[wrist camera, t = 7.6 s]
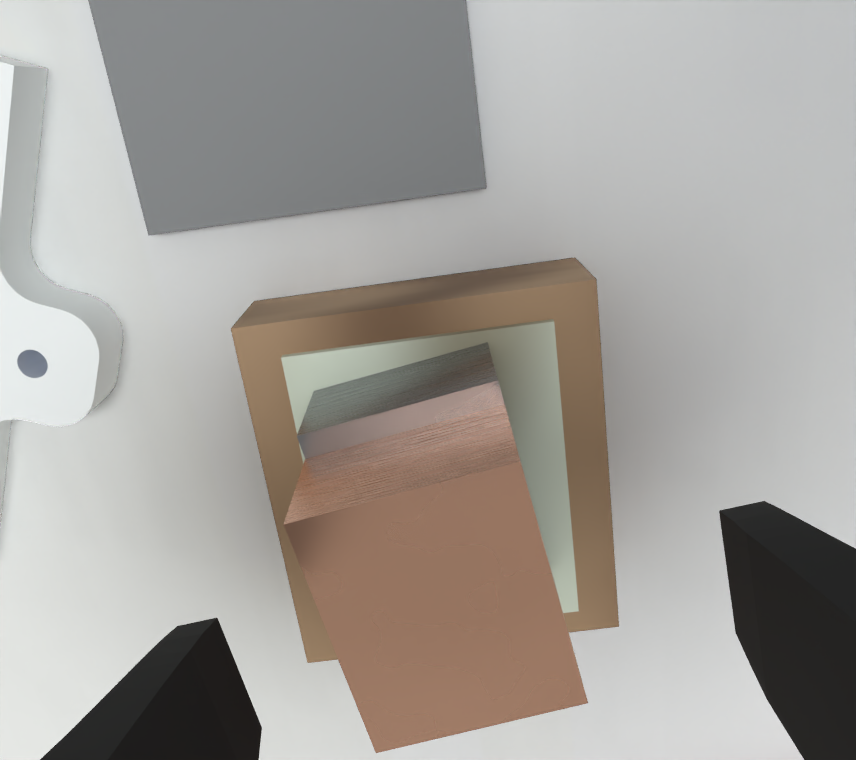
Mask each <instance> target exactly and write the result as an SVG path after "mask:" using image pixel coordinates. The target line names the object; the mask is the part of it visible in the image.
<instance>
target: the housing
mask: <svg viewBox="0 0 856 760" xmlns="http://www.w3.org/2000/svg"><path fill="white" fill-rule="evenodd" d="M297 439H298V441H299V444H300V446H301V449H302V452H303V454H304V457H305V461H304V464H303V467H302V470H301V473H300V476H299V479H298V482H297V485H296V488H295V491H294V494H293V497H292V500H291V503H290V506H289V509H288V512H287V515H286V518H285V521H284V524H283V525H284V527H285V530H286V532H287V534H288V537H289V539H290V542H291V544H292V547H293V549H294V552H295V554H296V557H297V559H298V562H299V564H300V567H301V569H302V571H303V574H304V576H305V579H306V581H307V584H308V586H309V589H310V591H311V594H312V596H313V599H314V601H315V604H316V606H317V608H318V611H319V613H320V616H321V618H322V621H323V623H324V626H325V628H326V631H327V633H328V636H329V638H330V641H331V643H332V645H333V648H334V650H335V653H336V655H337V658H338V660H339V663H340V665H341V668H342V670H343V673H344V675H345V678H346V680H347V683H348V685H349V687H350V690H351V692H352V695H353V697H354V700H355V702H356V705H357V707H358V710H359V712H360V715H361V717H362V720H363V722H364V724H365V727H366V729H367V732H368V734H369V737H370V739H371V742H372V744H373V747H374V749H375V752H376V753H378V752H382V751H387V750H391V749H395V748H399V747H404V746H408V745H412V744H416V743H421V742H425V741H429V740H433V739H438V738H442V737H446V736H450V735H454V734H459V733H463V732H467V731H471V730H476V729H480V728H484V727H488V726H493V725H497V724H501V723H505V722H510V721H514V720H518V719H522V718H527V717H531V716H535V715H539V714H544V713H548V712H552V711H556V710H560V709H565V708H569V707H573V706H577V705H582V704H586V703H588V701H587V698H586V694H585V691H584V687H583V683H582V680H581V676H580V672H579V669H578V665H577V662H576V658H575V654H574V651H573V647H572V643H571V640H570V636H569V632H568V629H567V625H566V621H565V618H564V614H563V610H562V607H561V603H560V600H559V596H558V592H557V589H556V585H555V581H554V578H553V574H552V571H551V567H550V563H549V560H548V556H547V553H546V549H545V545H544V542H543V538H542V535H541V531H540V528H539V524H538V520H537V517H536V513H535V510H534V506H533V503H532V499H531V495H530V492H529V488H528V485H527V481H526V478H525V474H524V470H523V467H522V463H521V460H520V456H519V452H518V449H517V445H516V442H515V438H514V435H513V431H512V427H511V424H510V420H509V417H508V413H507V410H506V406H505V402H504V399H503V395H502V392H501V388H500V385H499V381H498V377H497V374H496V370H495V367H494V363H493V359H492V356H491V352H490V349H489V345H488V342H486V343H482V344H479V345H475V346H472V347H468V348H464V349H461V350H457V351H454V352H450V353H447V354H443V355H440V356H436V357H433V358H429V359H425V360H422V361H418V362H415V363H411V364H408V365H404V366H401V367H397V368H393V369H390V370H386V371H383V372H379V373H376V374H372V375H369V376H365V377H361V378H358V379H354V380H351V381H347V382H344V383H340V384H337V385H333V386H329V387H326V388H322V389H319V390H315V391H314V392H313V394H312V397H311V400H310V402H309V405H308V407H307V410H306V413H305V415H304V418H303V421H302V423H301V426H300V429H299V431H298V434H297Z"/></svg>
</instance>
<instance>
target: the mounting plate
mask: <svg viewBox="0 0 856 760" xmlns="http://www.w3.org/2000/svg"><path fill="white" fill-rule="evenodd" d="M47 75H48V69H47V68H44V67H40V66H37V65H33V64H30V63H26V62H23V61H19V60H15V59H12V58H8V57H5V56H1V55H0V526H1V517H2V507H3V497H4V488H5V478H6V469H7V459H8V449H9V440H10V430H11V422H12V419H17V420H25V421H29V422H34V423H38V424H42V425H46V426H53V427H63V426H69V425H72V424H74V423H77V422H79V421H80V420H81V419H82V418H84V417H85V416H86V415H87V414H88V413H89V412H90V411H92V410H93V409H94V408H95V407H96V406H97V405H98V404H99V403H100V402H101V401H102V400H103V399H104V398H106V397H107V396H108V395H109V394H110V393H111V391H112V390H113V388H114V387H115V384H116V381H117V378H118V371H119V365H120V358H121V351H122V345H123V330H122V326H121V322H120V320H119V318H118V317H117V315H116V313H115V312H114V311H113V310H112V308H111V307H110V306H109V305H108V304H106V303H105V302H104V301H102V300H101V299H99V298H97V297H94V296H92V295H89V294H86V293H82V292H78V291H74V290H70V289H67V288H64V287H61V286H59V285H57V284H55V283H54V282H52V281H51V280H49V279H48V278H47V277H46V276H45V275H44V274H43V273H42V272H41V271H40V270H39V268H38V266H37V265H36V263H35V261H34V259H33V255H32V252H31V241H30V238H31V229H32V219H33V210H34V200H35V190H36V181H37V171H38V162H39V152H40V142H41V133H42V123H43V114H44V104H45V95H46V85H47Z"/></svg>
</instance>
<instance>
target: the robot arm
mask: <svg viewBox="0 0 856 760" xmlns="http://www.w3.org/2000/svg"><path fill="white" fill-rule="evenodd" d="M719 513H720V521H721V528H722V535H723V543H724V550H725V557H726V565H727V572H728V579H729V587H730V594H731V602H732V609H733V616H734V624H735V631H736V634H737V636H738V639H739V641H740V643H741V645H742V647H743V650H744V652H745V654H746V656H747V658H748V660H749V663H750V665H751V667H752V669H753V671H754V673H755V675H756V677H757V680H758V682H759V684H760V686H761V688H762V690H763V692H764V694H765V696H766V698H767V700H768V702H769V703H770V705H771V707H772V708H773V710H774V712H775V713H776V715H777V716H778V718H779V720H780V721H781V723H782V724H783V726H784V728H785V729H786V731H787V733H788V734H789V736H790V737H791V739H792V741H793V742H794V744H795V745H796V747H797V749H798V750H799V752H800V753H801V755H802V757H803V758H804V760H856V549H855V548H853V547H851V546H849V545H847V544H846V543H844V542H842V541H840V540H838V539H836V538H834V537H832V536H830V535H828V534H827V533H825V532H823V531H821V530H819V529H817V528H815V527H813V526H811V525H810V524H808V523H806V522H804V521H802V520H800V519H798V518H796V517H795V516H793V515H791V514H789V513H787V512H785V511H783V510H781V509H779V508H777V507H775V506H773V505H771V504H769V503H767V502H765V501H763V502H758V503H753V504H749V505H744V506H739V507H734V508H730V509H725V510H720V511H719ZM261 730H262V727H261V725H260V722H259V720H258V717H257V715H256V712H255V710H254V707H253V705H252V702H251V700H250V697H249V695H248V693H247V690H246V688H245V685H244V683H243V680H242V678H241V675H240V673H239V670H238V668H237V665H236V663H235V660H234V658H233V655H232V653H231V651H230V648H229V646H228V643H227V641H226V638H225V636H224V633H223V631H222V628H221V626H220V623H219V621H218V618H214V619H209V620H204V621H200V622H195V623H190V624H186V625H181V626H177V627H176V628H175V629H174V630H172V631H171V632H170V633H169V634H168V635H167V636H165V637H164V638H163V639H162V640H161V641H160V642H159V643H158V644H157V645H156V646H155V647H154V648H153V649H152V650H151V651H150V652H149V653H148V654H147V655H146V656H145V657H144V658H143V659H142V660H141V661H140V662H139V663H138V664H137V665H136V666H135V667H134V668H133V669H132V670H131V671H130V672H129V673H128V674H127V675H126V676H125V677H124V678H123V679H122V680H121V681H120V682H119V683H118V684H117V685H116V686H115V687H114V688H113V689H112V690H111V691H110V692H109V693H108V694H107V695H106V696H105V697H104V698H103V699H102V700H101V701H100V702H99V703H98V704H97V705H96V706H95V707H94V708H93V709H92V710H91V711H90V712H89V713H88V714H87V715H86V716H85V717H84V718H83V719H82V720H81V721H80V722H79V723H78V724H77V725H76V726H75V727H74V728H73V729H72V730H71V731H70V732H69V733H68V734H67V735H66V736H65V737H64V738H63V739H62V740H61V741H59V742H58V743H57V744H56V745H55V746H54V747H53V748H52V749H51V750H50V751H49V752H48V753H47V754H46V755H45V756H44V757H43V758H41V759H40V760H258V758H259V749H260V739H261Z"/></svg>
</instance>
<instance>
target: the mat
mask: <svg viewBox="0 0 856 760" xmlns="http://www.w3.org/2000/svg"><path fill="white" fill-rule="evenodd" d="M88 1H89V5H90V9H91V13H92V16H93V20H94V24H95V28H96V32H97V36H98V40H99V44H100V48H101V52H102V55H103V59H104V63H105V67H106V71H107V75H108V79H109V83H110V87H111V91H112V95H113V98H114V102H115V106H116V110H117V114H118V118H119V122H120V126H121V130H122V134H123V137H124V141H125V145H126V149H127V153H128V157H129V161H130V165H131V169H132V173H133V177H134V180H135V184H136V188H137V192H138V196H139V200H140V204H141V208H142V212H143V216H144V220H145V223H146V227H147V231H148V235H156V234H163V233H170V232H177V231H184V230H191V229H199V228H206V227H213V226H220V225H227V224H234V223H241V222H249V221H256V220H263V219H270V218H277V217H284V216H291V215H298V214H306V213H313V212H320V211H327V210H334V209H341V208H348V207H356V206H363V205H370V204H377V203H384V202H391V201H398V200H406V199H413V198H420V197H427V196H434V195H441V194H448V193H455V192H463V191H470V190H477V189H484V188H486V181H485V172H484V162H483V153H482V144H481V135H480V126H479V116H478V107H477V98H476V89H475V80H474V70H473V61H472V52H471V43H470V33H469V24H468V15H467V6H466V0H88Z"/></svg>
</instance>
